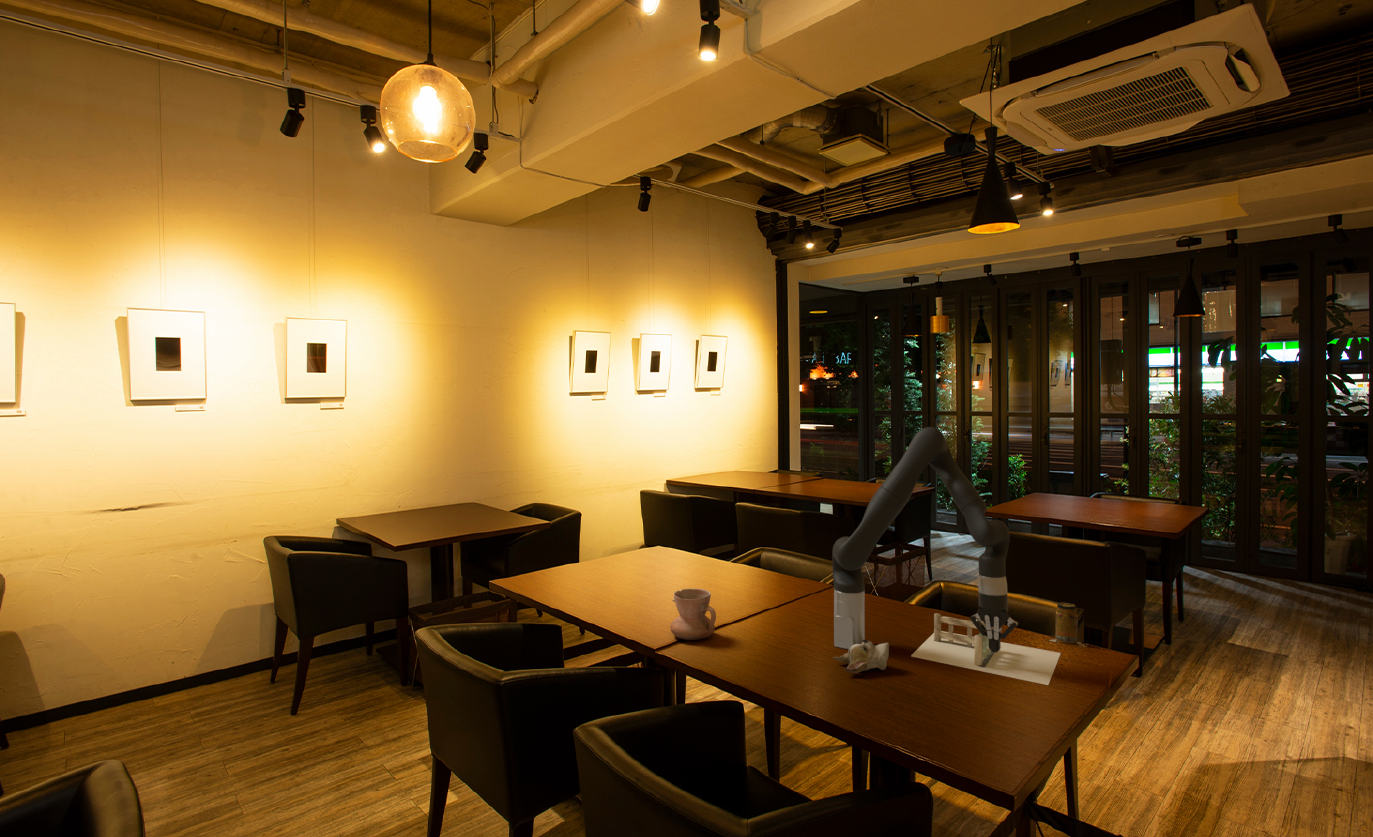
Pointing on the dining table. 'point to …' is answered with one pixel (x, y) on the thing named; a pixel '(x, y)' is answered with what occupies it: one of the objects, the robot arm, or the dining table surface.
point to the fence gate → (980, 648)
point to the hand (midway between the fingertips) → (994, 651)
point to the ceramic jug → (693, 614)
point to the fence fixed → (950, 635)
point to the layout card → (994, 659)
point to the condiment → (1067, 624)
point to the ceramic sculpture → (865, 656)
